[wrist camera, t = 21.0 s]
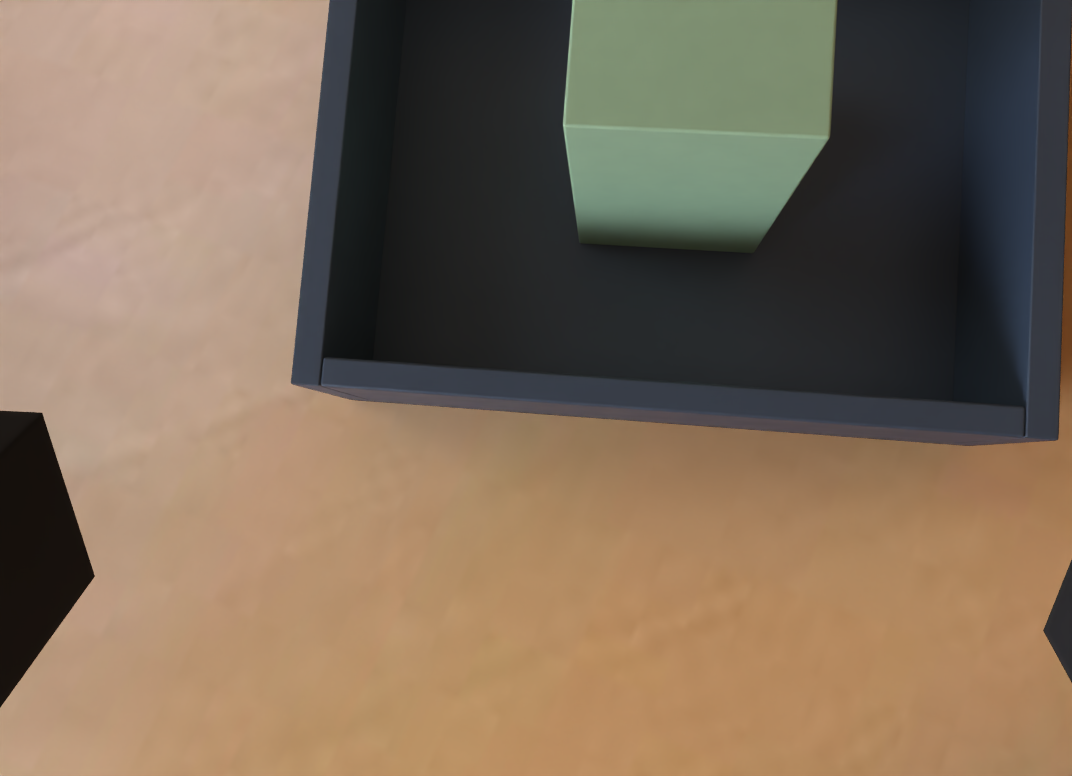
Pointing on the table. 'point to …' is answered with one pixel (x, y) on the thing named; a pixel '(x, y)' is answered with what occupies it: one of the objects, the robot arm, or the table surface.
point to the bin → (695, 275)
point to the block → (694, 117)
